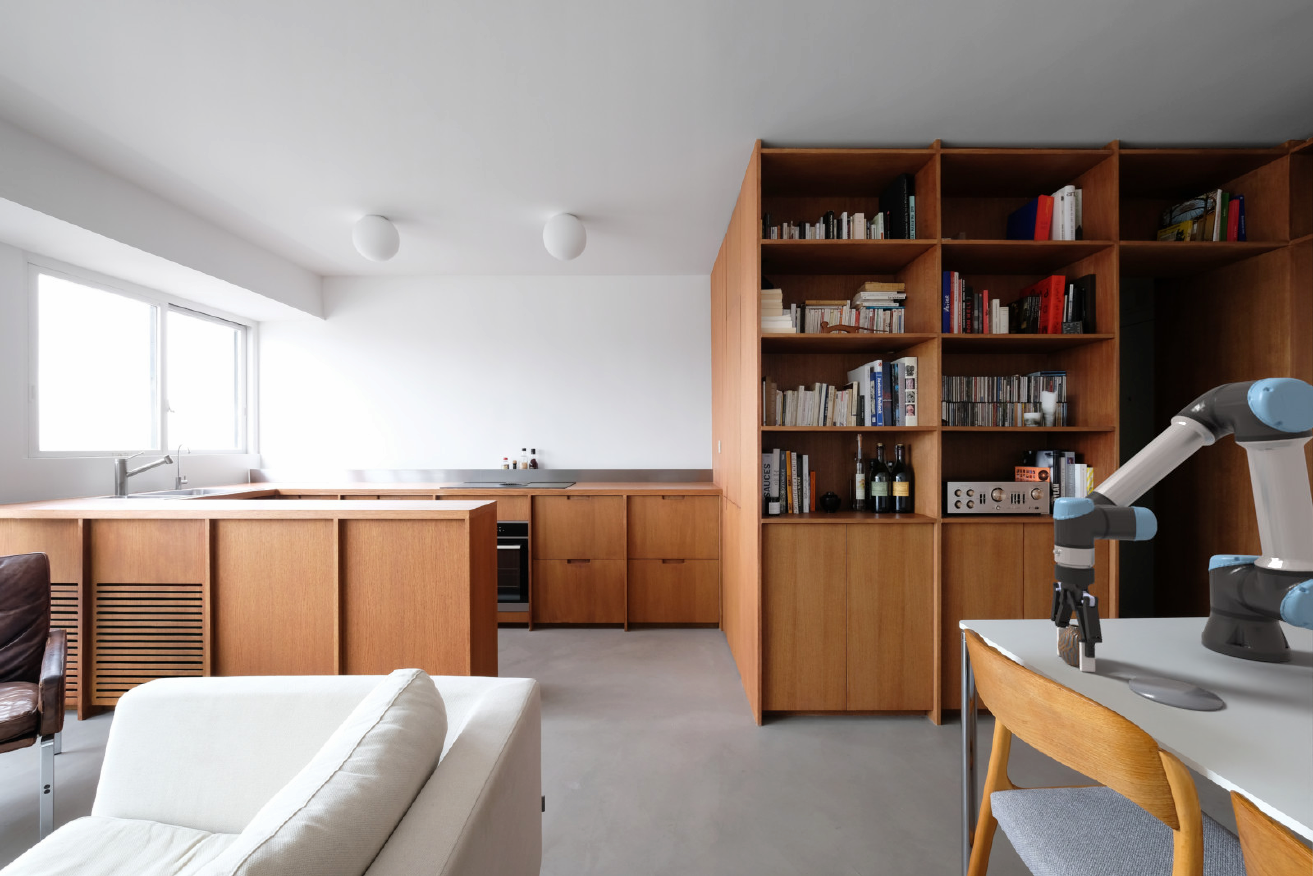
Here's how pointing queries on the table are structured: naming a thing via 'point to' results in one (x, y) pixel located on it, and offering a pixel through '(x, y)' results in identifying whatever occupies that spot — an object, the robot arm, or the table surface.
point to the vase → (1070, 645)
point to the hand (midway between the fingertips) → (1075, 662)
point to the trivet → (1175, 693)
